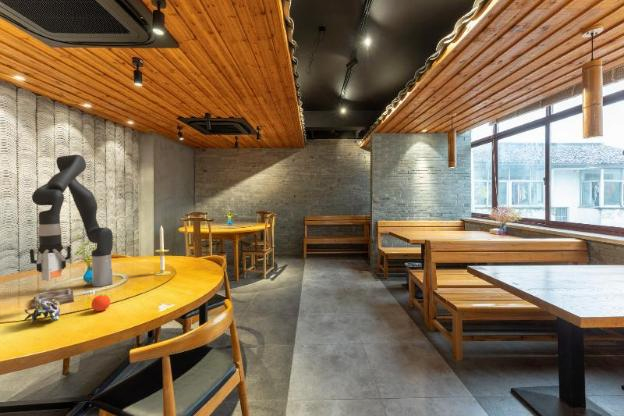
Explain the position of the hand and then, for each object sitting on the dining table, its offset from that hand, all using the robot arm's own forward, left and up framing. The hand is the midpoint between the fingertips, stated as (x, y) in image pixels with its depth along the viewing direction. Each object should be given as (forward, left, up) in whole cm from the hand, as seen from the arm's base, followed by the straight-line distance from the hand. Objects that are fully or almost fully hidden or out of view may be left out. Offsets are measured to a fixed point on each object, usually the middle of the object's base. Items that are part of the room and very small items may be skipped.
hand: (51, 270), depth 132 cm
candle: (-54, -36, -18) cm, 67 cm away
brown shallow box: (0, -15, -18) cm, 23 cm away
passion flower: (+3, +17, -18) cm, 25 cm away
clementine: (-17, +17, -18) cm, 30 cm away
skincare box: (0, 0, -4) cm, 4 cm away
